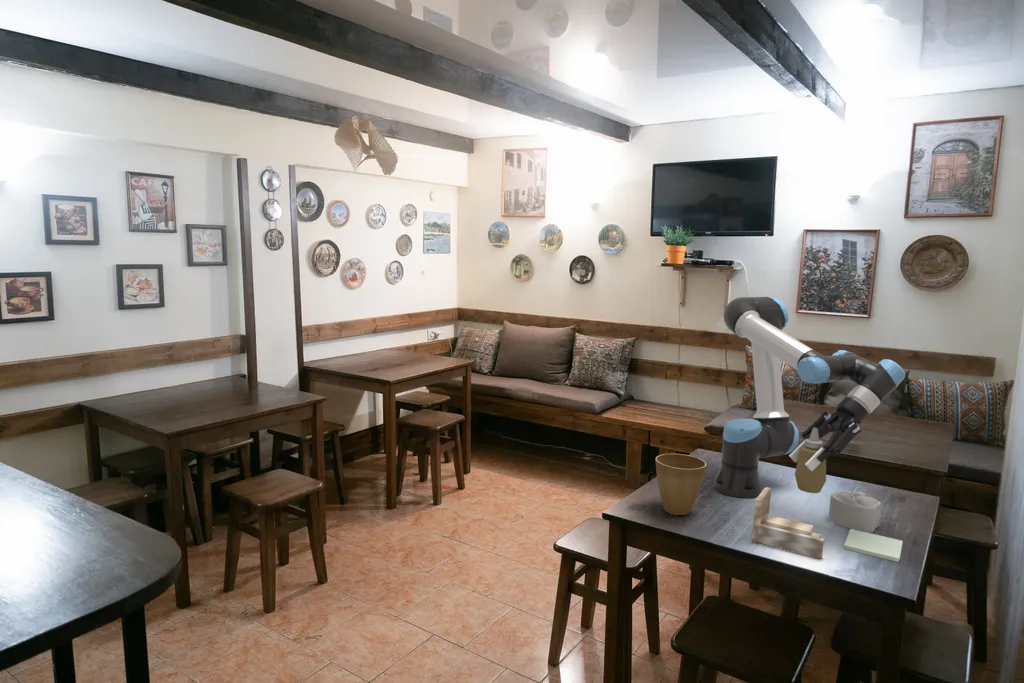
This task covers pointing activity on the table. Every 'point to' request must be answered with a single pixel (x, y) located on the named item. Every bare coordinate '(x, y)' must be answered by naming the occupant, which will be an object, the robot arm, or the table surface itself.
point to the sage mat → (873, 545)
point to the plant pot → (679, 481)
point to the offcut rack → (784, 530)
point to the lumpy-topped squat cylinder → (855, 510)
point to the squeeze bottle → (803, 475)
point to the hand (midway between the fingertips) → (800, 463)
